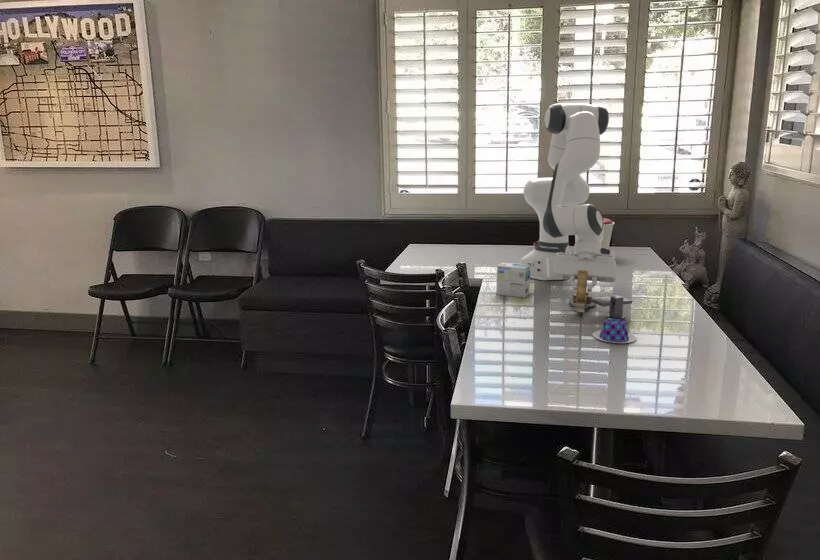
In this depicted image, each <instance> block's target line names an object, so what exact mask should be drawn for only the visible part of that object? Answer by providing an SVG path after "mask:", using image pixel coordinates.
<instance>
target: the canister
mask: <svg viewBox="0 0 820 560" xmlns="http://www.w3.org/2000/svg"><path fill="white" fill-rule="evenodd" d="M603 221H604V232H603V239H602V242H601V246H602V247H604V248H607V249H609V248H610V242H611V238H612V232H613V227H614V225H615V222H614V221H613V220H612V219H610V218H607V217H603ZM574 240H575V243H576V240H577V239H576V235H574ZM575 243H574V244H575Z"/></svg>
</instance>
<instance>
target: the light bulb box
mask: <svg viewBox="0 0 820 560" xmlns="http://www.w3.org/2000/svg"><path fill="white" fill-rule="evenodd" d="M530 266H531V265H525V264H520V263H511V262H501V263H499V264H497V266H496V289H495V292H496V293H495V294H496V295H499V296H507V297H509V296H510V297H516V298H518V297H519V298H526V297H527V296H529V294H530V292H531V291H530V290H531V278H530Z"/></svg>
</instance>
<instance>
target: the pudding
mask: <svg viewBox="0 0 820 560" xmlns="http://www.w3.org/2000/svg"><path fill="white" fill-rule="evenodd" d="M599 335H600V336H599ZM592 337H594V338H595V339H597V340H599V341H601V342H602V341H603V342H606V343H611V344H627V343H628V344H629V343H633V342H635V341H636V340H637V337H636V335H634V334H632V333H630V332H629V331H628V325H627V323H626V321H625V320H620V319H608V318H606V320H604V322H603V325H602V328H601V329H599V330H595V331H594V332H592Z"/></svg>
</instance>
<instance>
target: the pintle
mask: <svg viewBox="0 0 820 560" xmlns="http://www.w3.org/2000/svg"><path fill="white" fill-rule="evenodd" d="M587 287H588V283H587ZM575 303H576V302H573V297H572V298H569V299H568V305H569V306H571V307H573V306H574V308H575ZM594 306H595V307H597V304H595V303H592V302H591V303H586V305H585V307H593V308H595V307H594Z"/></svg>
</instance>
